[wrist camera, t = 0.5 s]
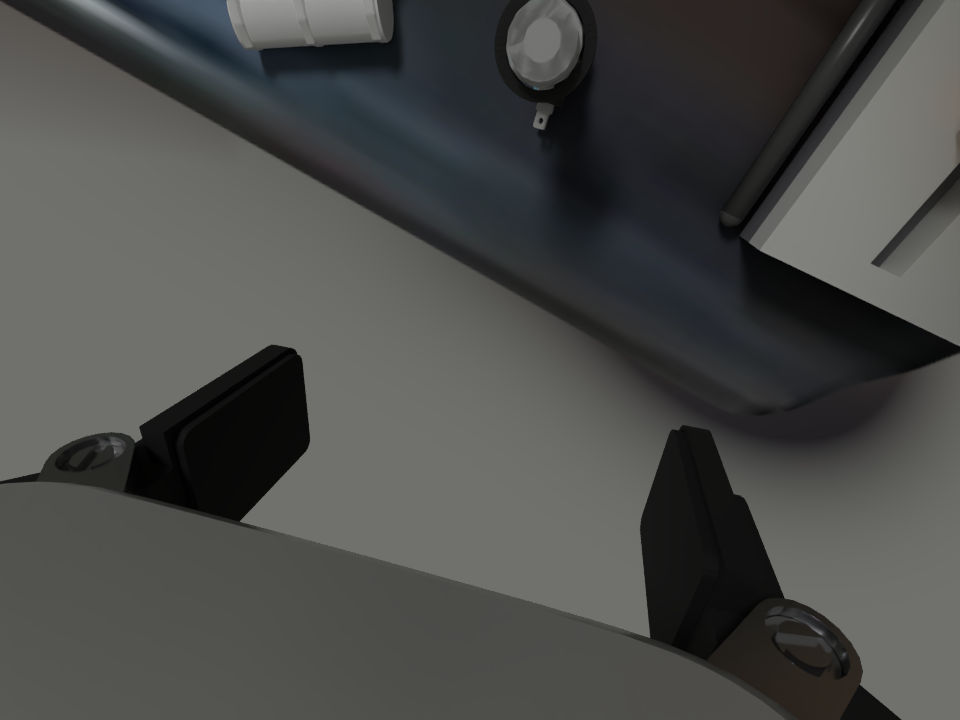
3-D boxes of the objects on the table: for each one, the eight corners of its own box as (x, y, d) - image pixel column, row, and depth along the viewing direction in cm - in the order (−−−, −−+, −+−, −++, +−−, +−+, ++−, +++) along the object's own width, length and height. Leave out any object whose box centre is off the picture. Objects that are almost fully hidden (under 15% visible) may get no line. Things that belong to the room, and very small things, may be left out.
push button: (573, 139, 34) (563, 141, 25) (505, 116, 34) (471, 110, 25) (611, 32, 30) (614, -8, 22) (535, 8, 31) (509, -41, 22)
